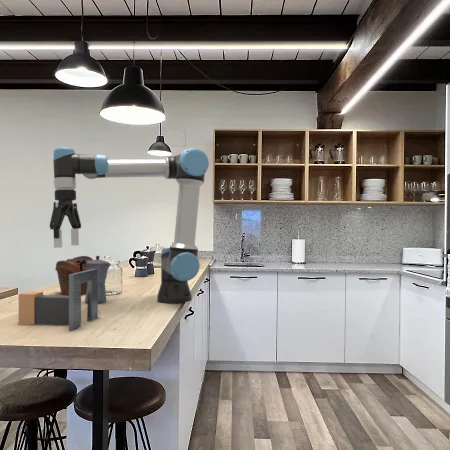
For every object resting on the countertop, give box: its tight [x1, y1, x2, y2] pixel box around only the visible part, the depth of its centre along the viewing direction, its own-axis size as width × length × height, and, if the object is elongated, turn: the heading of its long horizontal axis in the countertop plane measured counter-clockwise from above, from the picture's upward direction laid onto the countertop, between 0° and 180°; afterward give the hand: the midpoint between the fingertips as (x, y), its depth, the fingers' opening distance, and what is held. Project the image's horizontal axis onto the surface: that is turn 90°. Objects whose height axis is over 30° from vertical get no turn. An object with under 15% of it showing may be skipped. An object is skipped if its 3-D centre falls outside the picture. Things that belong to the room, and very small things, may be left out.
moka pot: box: [80, 255, 112, 304], centre depth 178 cm, size 10×15×20 cm, turn 78°
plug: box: [18, 291, 69, 326], centre depth 139 cm, size 20×6×10 cm, turn 83°
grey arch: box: [68, 269, 99, 332], centre depth 138 cm, size 2×18×18 cm, turn 173°
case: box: [55, 255, 94, 296], centre depth 201 cm, size 18×20×18 cm
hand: (67, 246), depth 155 cm, fingers open, 13 cm apart
